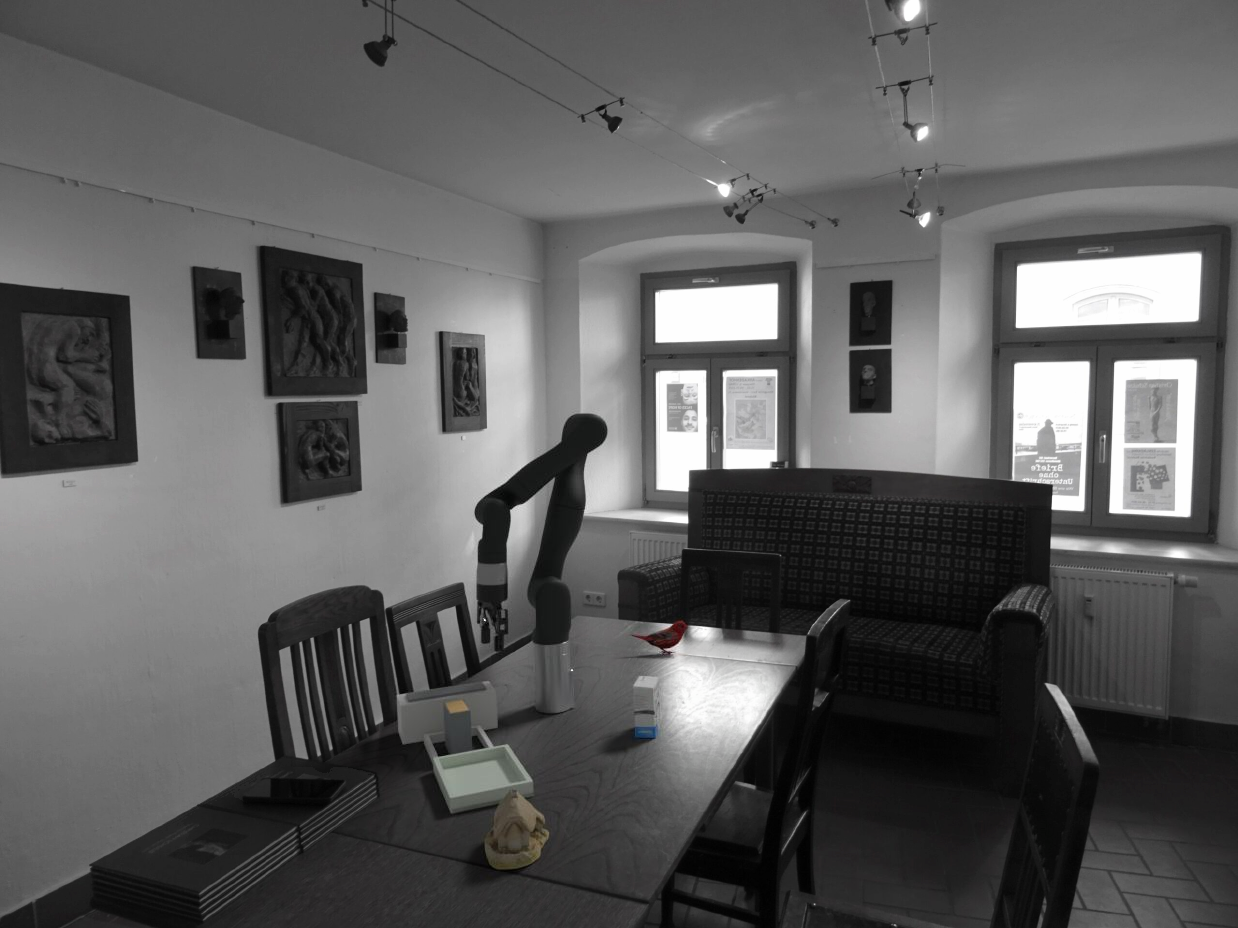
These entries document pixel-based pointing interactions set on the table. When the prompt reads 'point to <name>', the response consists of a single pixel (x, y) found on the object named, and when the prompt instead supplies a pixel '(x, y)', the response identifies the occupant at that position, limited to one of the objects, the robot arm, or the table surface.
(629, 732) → the table surface
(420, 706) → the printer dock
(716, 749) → the table surface
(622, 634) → the table surface
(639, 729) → the ink box
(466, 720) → the block
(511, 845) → the ceramic model
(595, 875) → the table surface
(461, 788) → the tray
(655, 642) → the decorative bird figurine
